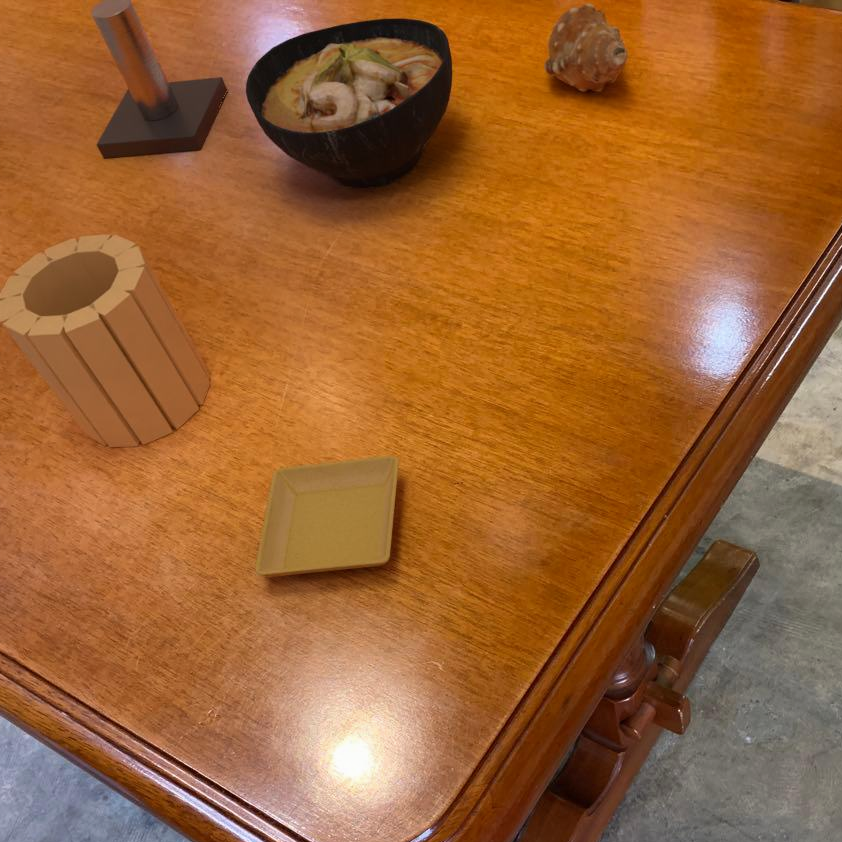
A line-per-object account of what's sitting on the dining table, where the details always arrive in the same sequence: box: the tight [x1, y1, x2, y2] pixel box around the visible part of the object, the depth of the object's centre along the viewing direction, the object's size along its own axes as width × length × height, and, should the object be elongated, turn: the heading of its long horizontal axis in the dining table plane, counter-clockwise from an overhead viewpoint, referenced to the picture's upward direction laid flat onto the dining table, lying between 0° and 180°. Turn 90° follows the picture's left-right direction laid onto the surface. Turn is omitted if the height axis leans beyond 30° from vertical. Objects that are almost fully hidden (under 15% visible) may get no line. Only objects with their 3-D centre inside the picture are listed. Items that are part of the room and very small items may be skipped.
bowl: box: [245, 17, 453, 190], centre depth 87 cm, size 17×17×10 cm
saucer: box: [254, 455, 400, 577], centre depth 66 cm, size 9×9×2 cm
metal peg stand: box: [90, 0, 228, 159], centre depth 96 cm, size 10×10×12 cm
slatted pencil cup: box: [0, 233, 211, 448], centre depth 73 cm, size 10×10×11 cm
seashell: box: [543, 3, 628, 92], centre depth 92 cm, size 9×8×10 cm
